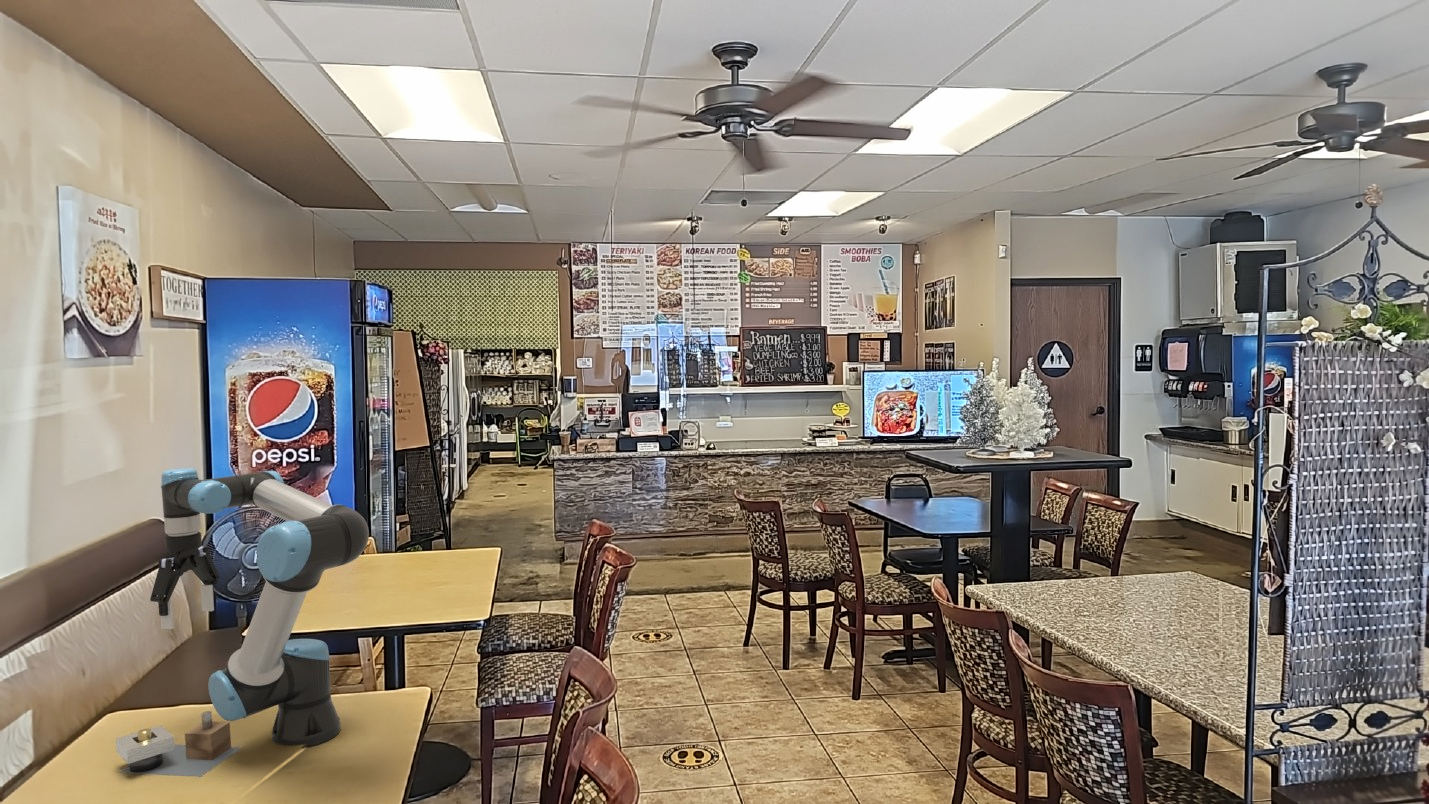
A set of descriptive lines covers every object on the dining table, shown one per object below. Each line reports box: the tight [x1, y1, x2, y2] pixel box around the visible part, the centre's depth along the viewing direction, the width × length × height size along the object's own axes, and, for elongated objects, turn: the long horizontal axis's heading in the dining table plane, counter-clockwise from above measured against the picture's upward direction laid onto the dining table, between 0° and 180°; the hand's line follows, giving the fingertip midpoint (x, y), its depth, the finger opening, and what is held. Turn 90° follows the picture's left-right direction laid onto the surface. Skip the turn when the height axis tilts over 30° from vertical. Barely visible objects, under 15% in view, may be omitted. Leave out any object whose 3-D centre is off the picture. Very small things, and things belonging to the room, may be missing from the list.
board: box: [118, 743, 243, 778], centre depth 202 cm, size 20×14×1 cm
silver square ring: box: [115, 724, 175, 765], centre depth 199 cm, size 9×9×3 cm
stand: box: [184, 710, 232, 760], centre depth 204 cm, size 6×6×10 cm
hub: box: [128, 728, 163, 774], centre depth 199 cm, size 6×6×8 cm
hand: (188, 619), depth 215 cm, fingers open, 13 cm apart
